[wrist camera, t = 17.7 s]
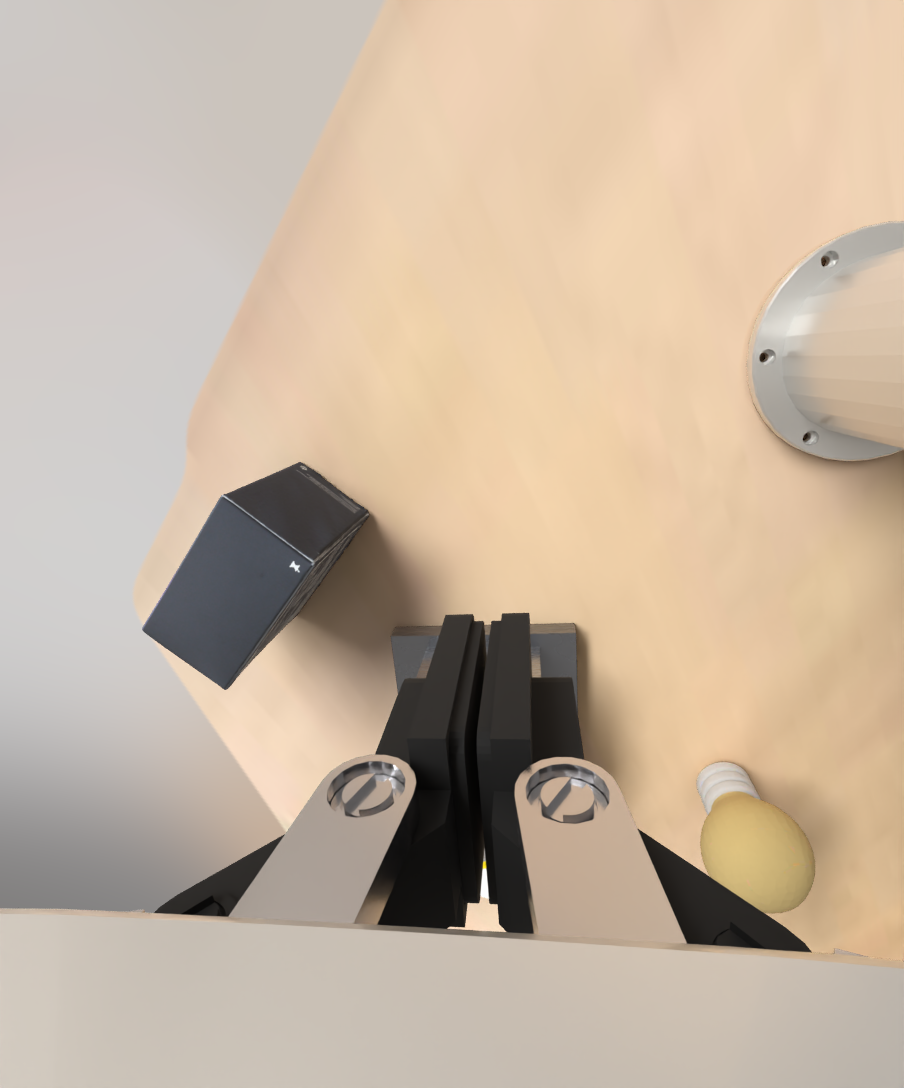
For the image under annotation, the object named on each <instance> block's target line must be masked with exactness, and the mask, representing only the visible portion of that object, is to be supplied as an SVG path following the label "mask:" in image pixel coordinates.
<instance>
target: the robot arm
mask: <svg viewBox="0 0 904 1088" xmlns="http://www.w3.org/2000/svg"><path fill="white" fill-rule="evenodd" d="M822 257H824V258H825V259H826V264H825V265H824V266H822V265H821V259H822ZM761 353H764V354H765V356H766V358H765V360H764V361H763V362H761V361H760V360H759V357H760V354H761ZM747 376H748V386H749V389H750V393H751V396H752V399H753V403H754V405H755V407H756V409H757V410H758V412H759V414H760V416H761V418H762V420H763V421H764V422H765V423H766V424H767V426H768V427H769V428H770V429H771V430H772V431H773V432H774V433H775V435H777V436H778V437H779V438H781V439H782V440H784V441H785V442H786V443H788V444H789V445H791V446H792V447H795V448H797V449H799V450H802V451H804V452H806V453H808V454H812V455H815V456H819V457H822V458H825V459H833V460H841V461H859V460H871V459H875V458H879V457H884V456H888V455H892V454H895V453H897V452H900V451H902V450H904V221H894V222H885V223H880V224H875V225H870V226H866V227H862V228H860V229H857V230H854V231H851V232H849V233H846V234H843V235H841V236H839V237H837V238H835V239H833V240H831V241H829V242H827V243H825V244H823V245H821V246H820V247H818V248H817V249H815V250H814V251H813V252H811V253H810V254H809V255H807V256H806V257H804V258H803V259H802V260H800V261H799V262H798V263H797V264H796V265H795V266H794V267H793V268H792V269H791V270H790V271H789V272H788V273H787V274H786V275H785V276H784V277H783V278H782V279H781V280H780V282H779V283H778V284H777V286H776V287H775V288H774V290H773V291H772V292H771V294H770V295H769V297H768V298H767V299H766V301H765V303H764V305H763V307H762V309H761V311H760V313H759V315H758V317H757V319H756V322H755V325H754V328H753V331H752V335H751V338H750V341H749V348H748V356H747ZM806 433H807V434H808V437H807V438H806V439H805V440H803V436H804V434H806ZM484 848H485V858H486V870H487V882H488V894H489V903H490V904H498V915H499V924H500V925H501V926H502V927H503V928H504V930H505V931H506V932H492V931H475V930H458V929H447V928H448V927H465V922H466V912H467V903H479V901H480V894H481V882H482V871H483V859H484ZM0 1088H904V961H901V960H891V959H882V958H872V957H867V956H863V955H859V954H855V953H851V952H847V951H843V950H839V949H835V948H834V954H828V953H812V952H811V951H810V949H809V948H808V947H807V946H806V944H805V943H804V942H802V941H801V940H800V939H799V938H798V937H796V936H795V935H794V934H793V933H791V932H790V931H789V930H788V929H787V928H785V927H784V926H783V925H781V924H780V923H778V922H777V921H775V920H774V919H772V918H771V917H769V916H768V915H766V914H765V913H763V912H762V911H760V910H759V909H757V908H756V907H754V906H753V905H751V904H750V903H748V902H747V901H745V900H744V899H742V898H741V897H739V896H738V895H736V894H735V893H733V892H732V891H730V890H729V889H727V888H726V887H724V886H723V885H721V884H720V883H718V882H717V881H715V880H714V879H712V878H711V877H709V876H708V875H706V874H705V873H703V872H702V871H700V870H699V869H697V868H696V867H694V866H693V865H691V864H690V863H688V862H687V861H685V860H684V859H682V858H681V857H679V856H678V855H676V854H675V853H673V852H672V851H670V850H669V849H667V848H666V847H664V846H663V845H661V844H660V843H658V842H657V841H655V840H654V839H652V838H651V837H649V836H648V835H646V834H645V833H643V832H642V831H640V830H639V829H637V827H636V824H635V822H634V820H633V817H632V815H631V813H630V810H629V808H628V806H627V804H626V801H625V799H624V797H623V794H622V792H621V790H620V787H619V786H618V784H617V783H616V781H615V780H614V778H613V777H612V776H611V775H610V774H609V773H608V772H606V771H605V770H604V769H603V768H601V767H600V766H598V765H595V764H593V763H591V762H589V761H586V760H584V756H583V749H582V742H581V735H580V728H579V721H578V714H577V707H576V700H575V693H574V686H573V680H572V677H532V660H531V639H530V618H529V613H508V614H502V619H501V621H492V622H491V629H490V637H489V644H488V652H487V653H486V640H485V627H484V621H474V616H473V614H466V615H446V616H445V619H444V622H443V625H442V628H441V631H440V635H439V638H438V641H437V644H436V647H435V650H434V654H433V657H432V660H431V663H430V666H429V670H428V673H427V676H426V678H406V679H404V681H403V683H402V686H401V688H400V691H399V693H398V696H397V699H396V701H395V704H394V706H393V709H392V712H391V714H390V717H389V720H388V722H387V725H386V727H385V730H384V733H383V735H382V738H381V740H380V743H379V746H378V748H377V751H376V754H375V755H367V756H362V757H357V758H354V759H352V760H350V761H347V762H345V763H343V764H341V765H340V766H338V767H337V768H335V769H334V770H332V771H331V772H330V773H329V774H328V775H327V776H326V777H325V778H324V779H323V780H322V782H321V783H320V785H319V786H318V787H317V789H316V790H315V792H314V793H313V795H312V796H311V798H310V799H309V800H308V802H307V803H306V805H305V806H304V808H303V809H302V811H301V812H300V814H299V815H298V816H297V818H296V819H295V821H294V822H293V824H292V825H291V827H290V828H289V829H288V831H287V832H286V834H285V835H283V836H281V837H279V838H277V839H276V840H274V841H272V842H270V843H269V844H267V845H265V846H263V847H262V848H260V849H258V850H256V851H254V852H253V853H251V854H249V855H247V856H246V857H244V858H242V859H240V860H238V861H237V862H235V863H233V864H231V865H230V866H228V867H226V868H225V869H222V870H221V871H219V872H217V873H216V874H214V875H212V876H210V877H208V878H207V879H205V880H203V881H201V882H200V883H198V884H196V885H194V886H192V887H191V888H189V889H187V890H185V891H184V892H182V893H180V894H178V895H177V896H175V897H174V898H172V899H171V900H169V901H168V902H167V903H165V904H164V905H162V906H161V907H160V908H158V910H157V911H155V912H154V913H145V911H144V909H141V910H135V911H129V912H119V911H96V910H72V909H0Z"/></svg>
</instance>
